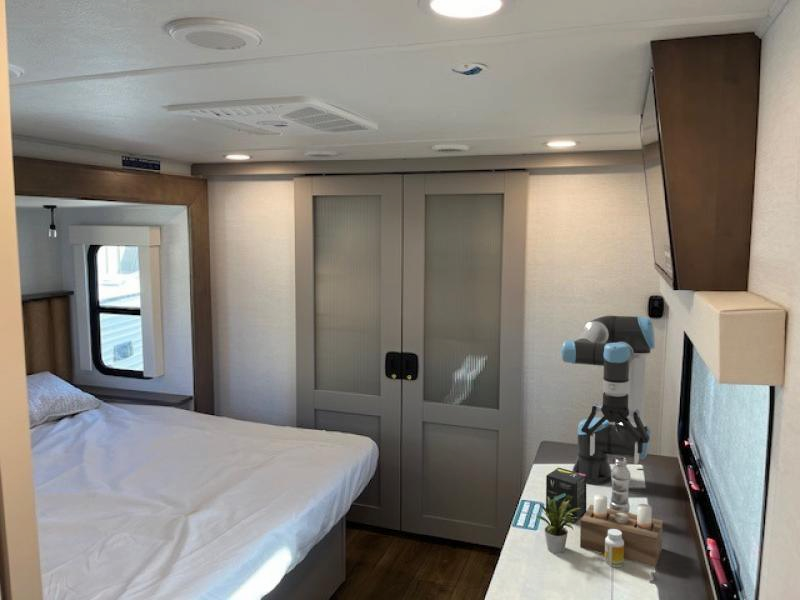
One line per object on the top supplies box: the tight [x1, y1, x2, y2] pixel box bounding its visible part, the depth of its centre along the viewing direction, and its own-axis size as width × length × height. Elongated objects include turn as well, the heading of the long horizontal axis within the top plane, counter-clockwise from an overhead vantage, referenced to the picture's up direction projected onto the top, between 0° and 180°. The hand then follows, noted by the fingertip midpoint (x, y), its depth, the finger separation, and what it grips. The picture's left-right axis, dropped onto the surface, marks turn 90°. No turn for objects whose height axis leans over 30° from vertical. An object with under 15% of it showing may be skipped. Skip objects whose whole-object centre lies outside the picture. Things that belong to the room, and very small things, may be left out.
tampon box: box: [545, 467, 587, 525], centre depth 210 cm, size 11×9×15 cm
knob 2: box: [636, 503, 653, 531], centre depth 185 cm, size 4×4×10 cm
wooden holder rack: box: [579, 504, 664, 568], centre depth 189 cm, size 12×22×10 cm, turn 59°
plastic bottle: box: [609, 456, 632, 513], centre depth 209 cm, size 6×7×20 cm
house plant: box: [535, 497, 580, 555], centre depth 187 cm, size 14×14×16 cm
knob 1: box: [593, 494, 608, 521], centre depth 192 cm, size 4×4×10 cm
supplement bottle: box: [604, 529, 625, 568], centre depth 181 cm, size 5×5×10 cm
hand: (613, 458), depth 192 cm, fingers open, 13 cm apart
